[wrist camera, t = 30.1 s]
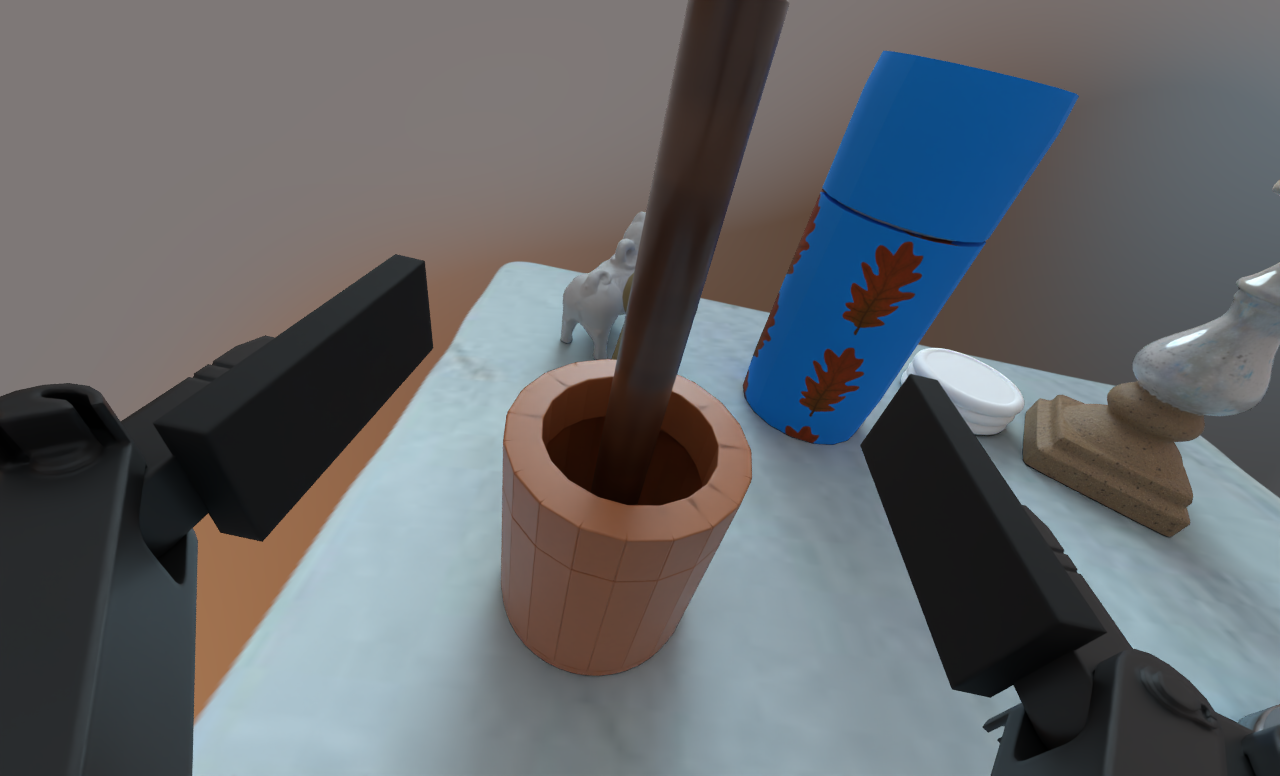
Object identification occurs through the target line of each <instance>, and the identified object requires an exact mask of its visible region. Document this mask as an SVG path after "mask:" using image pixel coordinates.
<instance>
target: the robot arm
mask: <svg viewBox="0 0 1280 776" xmlns="http://www.w3.org/2000/svg"><path fill="white" fill-rule="evenodd" d="M432 349H433V341H432V331H431V320H430V310H429V300H428V290H427V280H426V270H425V261H423V260H418V259H414V258H409V257H405V256H401V255H397V254H395V255H394V256H392V257H391V258H389V259H388V260H386V261H385V262H384V263H382V264H381V265H379V266H378V267H376V268H375V269H373V270H372V271H371V272H369V273H368V274H366V275H365V276H363V277H362V278H360V279H359V280H358V281H356V282H355V283H353V284H352V285H350V286H349V287H348V288H346V289H345V290H343V291H342V292H340V293H339V294H337V295H336V296H335V297H333V298H332V299H330V300H329V301H327V302H326V303H324V304H323V305H322V306H320V307H319V308H317V309H316V310H314V311H313V312H311V313H310V314H309V315H307V316H306V317H304V318H303V319H301V320H300V321H299V322H297V323H296V324H294V325H293V326H291V327H290V328H288V329H287V330H286V331H284V332H283V333H281V334H280V335H278V336H277V337H276V338H274V337H269V336H263V337H260V338H257V339H255V340H252V341H249V342H247V343H244V344H241V345H238V346H236V347H234V348H233V349H231V350H230V351H228V352H226V353H225V354H224V355H222V356H220V357H219V358H217V359H216V360H214V361H213V364H212V365H209V364H208V365H207V366H205V367H203V368H202V369H200V370H199V371H198V372H196V373H194V377H193V378H191V377H188V378H187V379H185V380H184V381H182V382H181V383H179V384H178V385H176V386H174V387H173V388H171V389H170V390H168V391H167V392H165V393H164V394H162V395H161V396H159V397H158V398H156V399H155V400H153V401H152V402H150V403H148V404H147V405H146V406H144V407H142V408H141V409H139V410H138V411H136V412H135V413H133V414H132V415H130V416H129V417H127V418H126V419H124V420H122V421H121V422H120V421H119V419H118V418H117V416H116V415H115V413H114V412H113V410H112V409H111V407H110V406H109V404H108V403H107V401H106V400H105V398H104V397H103V396H102V394H101V393H100V392H99V391H97V390H95V389H93V388H91V387H90V386H85V385H78V384H70V383H66V384H50V385H42V386H36V387H32V388H27V389H22V390H18V391H14V392H11V393H9V394H6V395H3V396H1V397H0V776H192V762H193V721H194V679H195V637H196V595H197V594H196V593H197V554H198V540H197V537H196V534H195V531H194V530H193V527H194V526H195V525H196V524H197V523H198V522H199V521H200V520H201V519H202V518H204V517H205V516H206V515H207V514H208V513H209V515H210V516H211V518H212V519H213V521H214V523H215V524H216V526H217V528H218V529H219V531H220V532H221V533H225V534H229V535H234V536H239V537H243V538H248V539H253V540H257V541H262V542H263V540H264V539H265V538H266V537H267V536H268V535H269V534H270V533H271V531H272V530H273V529H274V528H275V527H276V525H278V523H279V522H280V521H281V520H282V519H283V518H284V517H285V516H286V514H287V513H288V512H289V511H290V510H291V509H292V508H293V506H294V505H295V504H296V503H297V502H298V501H299V500H300V499H301V497H302V496H303V495H304V494H305V493H306V492H307V491H308V490H309V488H310V487H311V486H312V485H313V484H314V483H315V482H316V480H317V479H318V478H319V477H320V476H321V474H323V472H324V471H325V470H326V469H327V468H328V467H329V466H330V465H331V463H332V462H333V461H334V460H335V459H336V458H337V457H338V456H339V454H340V453H341V452H342V451H343V450H344V449H345V448H346V446H347V445H348V444H349V443H350V442H351V441H352V440H353V438H354V437H355V436H356V435H357V434H358V433H359V432H360V431H361V429H362V428H363V427H364V426H365V425H366V424H367V423H368V422H369V420H370V419H371V418H372V417H373V416H374V415H375V414H376V412H377V411H378V410H379V409H380V408H381V407H382V406H383V405H384V403H385V402H386V401H387V400H388V399H389V398H390V397H391V396H392V394H393V393H394V392H395V391H396V390H397V389H398V388H399V386H400V385H401V384H402V383H403V382H404V381H405V380H406V378H407V377H408V376H409V375H410V374H411V373H412V372H413V371H414V369H415V368H416V367H417V366H418V365H419V364H420V363H421V362H422V360H423V359H424V358H425V357H426V356H427V355H428V354H429V352H430V351H431V350H432ZM860 446H861V448H862V451H863V454H864V456H865V459H866V462H867V464H868V467H869V470H870V472H871V475H872V478H873V480H874V483H875V486H876V488H877V491H878V494H879V496H880V499H881V502H882V504H883V507H884V510H885V512H886V515H887V518H888V520H889V523H890V526H891V528H892V531H893V534H894V536H895V539H896V542H897V544H898V547H899V550H900V552H901V555H902V558H903V560H904V563H905V566H906V568H907V571H908V574H909V576H910V579H911V582H912V584H913V587H914V590H915V592H916V595H917V598H918V600H919V603H920V606H921V608H922V611H923V614H924V616H925V619H926V622H927V624H928V627H929V630H930V632H931V635H932V638H933V640H934V643H935V646H936V648H937V651H938V654H939V656H940V659H941V662H942V664H943V667H944V670H945V672H946V675H947V678H948V680H949V683H950V686H951V688H952V689H953V690H957V691H962V692H967V693H971V694H976V695H981V696H985V697H990V698H991V697H992V696H994V695H996V694H998V693H1000V692H1001V691H1003V690H1005V689H1007V688H1009V687H1010V686H1012V685H1014V687H1015V689H1016V691H1017V693H1018V695H1019V698H1020V700H1021V702H1022V703H1020V704H1018V705H1016V706H1014V707H1012V708H1010V709H1009V710H1007V711H1005V712H1003V713H1001V714H999V715H997V716H995V717H993V718H991V719H989V720H988V721H987V722H986V723H985V724H984V726H983V728H984V729H985V730H986V731H987V732H990V731H992V730H994V729H997V728H999V727H1001V726H1005V729H1004V732H1003V736H1002V737H1001V738H999V739H998V740H997V741H998V742H1000V746H999V749H998V753H997V756H996V759H995V763H994V766H993V769H992V773H991V776H1280V704H1279V705H1276V706H1273V707H1270V708H1267V709H1265V710H1262V711H1259V712H1256V713H1253V714H1250V715H1247V716H1245V717H1244V718H1242V719H1241V720H1239V722H1238V723H1236V722H1234V721H1232V720H1230V719H1228V718H1226V717H1224V716H1222V715H1220V714H1218V713H1216V712H1215V711H1214V710H1213V708H1212V707H1211V705H1210V704H1209V702H1208V701H1207V699H1206V698H1205V697H1204V696H1203V695H1202V694H1201V693H1200V692H1199V691H1198V690H1197V688H1196V687H1195V686H1194V685H1193V684H1192V683H1191V682H1190V681H1189V680H1188V679H1187V678H1185V677H1184V676H1183V675H1182V674H1180V673H1179V672H1178V671H1177V670H1175V669H1174V668H1173V667H1172V666H1170V665H1169V664H1167V663H1165V662H1164V661H1162V660H1160V659H1159V658H1157V657H1155V656H1153V655H1152V654H1149V653H1146V652H1143V651H1140V650H1137V649H1133V648H1132V647H1131V645H1130V644H1129V643H1128V641H1127V640H1126V638H1125V637H1124V635H1123V634H1122V633H1121V631H1120V630H1119V628H1118V627H1117V625H1116V624H1115V622H1114V621H1113V620H1112V618H1111V617H1110V615H1109V614H1108V612H1107V611H1106V610H1105V608H1104V607H1103V605H1102V604H1101V602H1100V601H1099V599H1098V598H1097V597H1096V595H1095V594H1094V592H1093V591H1092V589H1091V588H1090V587H1089V585H1088V584H1087V582H1086V581H1085V579H1084V578H1083V576H1082V575H1081V574H1078V573H1077V568H1076V566H1075V565H1074V564H1073V562H1072V561H1071V559H1070V558H1069V556H1068V555H1066V554H1064V553H1063V552H1064V549H1063V548H1062V546H1061V545H1060V543H1059V542H1058V541H1057V539H1056V538H1055V536H1054V535H1053V533H1052V532H1051V531H1050V529H1049V528H1048V527H1047V526H1046V525H1045V524H1044V523H1043V522H1042V521H1041V520H1040V519H1039V518H1038V517H1037V516H1036V515H1035V514H1034V513H1033V512H1032V511H1031V510H1030V509H1029V508H1028V507H1026V506H1024V505H1021V503H1020V502H1019V500H1018V499H1017V497H1016V496H1015V494H1014V493H1013V491H1012V490H1011V488H1010V487H1009V485H1008V484H1007V483H1006V481H1005V480H1004V478H1003V477H1002V475H1001V474H1000V472H999V471H998V469H997V468H996V466H995V465H994V463H993V462H992V460H991V459H990V457H989V456H988V454H987V453H986V451H985V450H984V448H983V447H982V445H981V444H980V442H979V441H978V439H977V438H976V436H975V435H974V433H973V432H972V430H971V429H970V427H969V426H968V425H967V423H966V422H965V420H964V419H963V417H962V416H961V414H960V413H959V411H958V410H957V408H956V407H955V405H954V404H953V402H952V401H951V399H950V398H949V396H948V395H947V393H946V392H945V390H944V389H943V387H942V386H941V384H940V383H939V381H938V380H936V379H931V378H927V377H923V376H918V375H914V374H909V376H908V377H907V379H906V380H905V382H904V383H903V384H902V386H901V387H900V389H899V390H898V392H897V393H896V395H895V396H894V397H893V399H892V400H891V402H890V403H889V405H888V406H887V408H886V409H885V410H884V412H883V413H882V415H881V416H880V418H879V419H878V421H877V422H876V423H875V425H874V426H873V428H872V429H871V431H870V432H869V434H868V435H867V436H866V438H865V439H864V441H863V442H862V444H861V445H860Z"/></svg>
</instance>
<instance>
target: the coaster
mask: <svg viewBox="0 0 1280 776" xmlns="http://www.w3.org/2000/svg"><path fill="white" fill-rule="evenodd" d="M909 374H914V375H918V376H923V377H927V378H931V379H936V380H938V381H939V383H940V384H941V386H942V387H943V389H944V390H945V392H946V393H947V395H948V396H949V398H950V399H951V401H952V402H953V404H954V405H955V407H956V408H957V410H958V411H959V413H960V414H961V416H962V417H963V419H964V420H965V422H966V423H967V425H968V426H969V427H970V429H971V430H972V432H973V433H974V434H978V435H993V434H997V433H999V432H1001V431H1002V430H1004V429H1005V428H1006V426H1007V424H1008V423H1009V422H1011V421H1012V420H1013V419H1014V417H1015V415H1016V414H1018V413H1020V412H1021V411H1022V409H1023V407H1024V399H1023V396H1022V394H1021V392H1020V390H1019V389H1018V388H1017V387H1016V386H1015V384H1014V383H1012V382H1011V381H1010V380H1009V379H1008V378H1007V377H1005V376H1004V375H1003V374H1001V373H1000V372H998V371H997V370H995V369H994V368H992V367H990V366H989V365H987V364H985V363H983V362H981V361H979V360H977V359H975V358H972V357H970V356H968V355H965V354H962V353H959V352H956V351H952V350H948V349H941V348H929V349H924V350H921V351H919V352H918V353H917V354H916V355H915V356H914V359H913V361H912V362H911V363H910V364H909V365H908V368H907V370H905V371H904V372H903V374H902V377H901V385H902V384H903V383H904V382H905V380H906V379H907V377H908V376H909Z"/></svg>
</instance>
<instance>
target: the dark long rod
mask: <svg viewBox="0 0 1280 776" xmlns="http://www.w3.org/2000/svg"><path fill="white" fill-rule="evenodd" d="M788 7H789V2H788V0H688V3H687V8H686V13H685V19H684V23H683V28H682V34H681V38H680V44H679V49H678V54H677V59H676V64H675V69H674V74H673V79H672V84H671V89H670V94H669V100H668V104H667V109H666V114H665V120H664V124H663V129H662V134H661V140H660V145H659V149H658V155H657V160H656V165H655V170H654V175H653V180H652V185H651V190H650V196H649V200H648V205H647V211H646V215H645V220H644V225H643V230H642V235H641V240H640V245H639V250H638V255H637V260H636V265H635V271H634V276H633V281H632V286H631V291H630V296H629V301H628V306H627V311H626V316H625V321H624V326H623V331H622V336H621V341H620V346H619V351H618V356H617V361H616V366H615V371H614V376H613V381H612V387H611V392H610V397H609V402H608V407H607V412H606V417H605V422H604V427H603V432H602V437H601V442H600V447H599V452H598V457H597V462H596V467H595V472H594V477H593V482H592V487H591V492H590V493H592V494H594V495H595V496H597V497H600V498H603V499H607V500H610V501H614V502H618V503H621V504H625V505H638V501H639V498H640V495H641V491H642V488H643V485H644V482H645V478H646V475H647V472H648V468H649V465H650V462H651V458H652V455H653V452H654V449H655V445H656V442H657V439H658V435H659V432H660V429H661V426H662V422H663V419H664V416H665V412H666V409H667V406H668V403H669V399H670V396H671V393H672V389H673V386H674V383H675V379H676V376H677V373H678V370H679V366H680V363H681V360H682V356H683V353H684V350H685V347H686V343H687V340H688V337H689V333H690V330H691V327H692V323H693V320H694V317H695V314H696V310H697V307H698V304H699V300H700V297H701V294H702V291H703V287H704V284H705V281H706V277H707V274H708V271H709V267H710V264H711V261H712V257H713V254H714V251H715V248H716V244H717V241H718V238H719V235H720V231H721V227H722V225H723V221H724V218H725V214H726V211H727V208H728V205H729V201H730V198H731V195H732V192H733V188H734V185H735V182H736V179H737V175H738V172H739V168H740V165H741V162H742V159H743V155H744V152H745V149H746V146H747V142H748V139H749V135H750V132H751V129H752V126H753V123H754V119H755V116H756V113H757V109H758V106H759V103H760V100H761V96H762V93H763V90H764V86H765V83H766V80H767V76H768V73H769V70H770V67H771V63H772V60H773V57H774V53H775V50H776V47H777V44H778V40H779V37H780V33H781V30H782V27H783V24H784V21H785V17H786V14H787V10H788Z"/></svg>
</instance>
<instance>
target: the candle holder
mask: <svg viewBox="0 0 1280 776" xmlns="http://www.w3.org/2000/svg"><path fill="white" fill-rule="evenodd" d="M1273 192H1274V193H1276V194H1278V195H1280V180H1279V181H1278V182H1277V183H1276V184H1275V185H1274V187H1273ZM1236 285H1237V287H1238V288H1239V290H1238V292H1237V293H1236V294H1235V295H1234V300H1233V303H1232V305H1231V307H1230V309H1229V310H1228V311H1227V312H1226V313H1225V314H1224V315H1223V316H1221V317H1219V318H1217V319H1215V320H1213V321H1211V322H1209V323H1206V324H1204V325H1201V326H1199V327H1196V328H1193V329H1189V330H1186V331H1183V332H1180V333H1176V334H1173V335H1170V336H1167V337H1164V338H1161V339H1159V340H1157V341H1154V342H1152V343H1150V344H1148V345H1146V346H1145V347H1144V348H1142V349H1141V350H1140V351H1139V352H1138V353H1137V354H1136V355H1135V357H1134V360H1133V364H1132V368H1133V372H1134V374H1135V377H1136V378H1137V381H1136V382H1130V383H1123V384H1120V385H1118V386H1116V387H1114V388H1112V389H1111V390H1110V392H1109V393H1108V395H1107V401H1108V405H1101V404H1084V403H1082V402H1079V401H1077V400H1074V399H1072V398H1069V397H1067V396H1064V395H1057V396H1056V397H1055V398H1054V399H1053V400H1045V399H1039V400H1038V401H1036V402H1035V404H1034V405H1033V406H1032V407H1031V408H1030V409H1029V410H1028V411H1027V412H1026V416H1025V428H1024V443H1023V460H1024V462H1025V463H1026V464H1028V465H1029V466H1031V467H1032V468H1034V469H1036V470H1038V471H1040V472H1042V473H1043V474H1045V475H1047V476H1049V477H1051V478H1053V479H1055V480H1057V481H1059V482H1061V483H1063V484H1065V485H1067V486H1068V487H1070V488H1072V489H1074V490H1076V491H1078V492H1080V493H1082V494H1084V495H1086V496H1088V497H1090V498H1092V499H1094V500H1096V501H1098V502H1100V503H1102V504H1103V505H1105V506H1107V507H1109V508H1111V509H1113V510H1115V511H1117V512H1119V513H1121V514H1123V515H1125V516H1127V517H1129V518H1131V519H1133V520H1135V521H1137V522H1139V523H1140V524H1142V525H1144V526H1146V527H1149V528H1151V529H1153V530H1155V531H1157V532H1159V533H1161V534H1163V535H1165V536H1168V537H1172V536H1173V535H1175V534H1176V533H1178V532H1179V531H1181V530H1182V529H1184V528H1185V527H1187V526H1188V525H1190V519H1189V515H1188V511H1187V508H1186V507H1187V506H1188V505H1190V504H1191V503H1192V500H1193V493H1192V489H1191V486H1190V483H1189V480H1188V477H1187V474H1186V471H1185V468H1184V466H1183V462H1182V457H1181V454H1180V452H1179V450H1178V448H1177V446H1176V445H1175V443H1174V442H1183V441H1190V440H1193V439H1195V438H1197V437H1198V436H1199V435H1200V434H1201V433H1202V432H1203V430H1204V426H1205V423H1204V416H1205V415H1210V416H1230V415H1236V414H1240V413H1244V412H1246V411H1249V410H1250V409H1252V408H1253V407H1255V406H1256V405H1257V404H1258V403H1259V402H1260V401H1261V400H1262V399H1263V398H1264V396H1265V394H1266V393H1267V390H1268V387H1269V384H1270V379H1271V373H1272V367H1273V361H1274V358H1275V354H1276V352H1277V350H1278V348H1279V346H1280V262H1279V263H1278V264H1276V265H1274V266H1272V267H1270V268H1268V269H1266V270H1264V271H1261V272H1259V273H1256V274H1253V275H1250V276H1246V277H1243V278H1240V279H1239V280H1238V281H1237V282H1236Z"/></svg>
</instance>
